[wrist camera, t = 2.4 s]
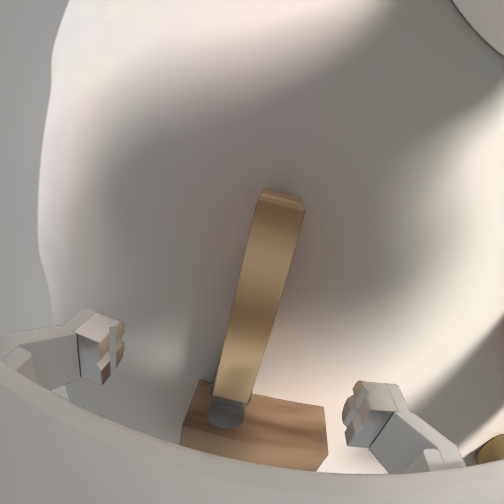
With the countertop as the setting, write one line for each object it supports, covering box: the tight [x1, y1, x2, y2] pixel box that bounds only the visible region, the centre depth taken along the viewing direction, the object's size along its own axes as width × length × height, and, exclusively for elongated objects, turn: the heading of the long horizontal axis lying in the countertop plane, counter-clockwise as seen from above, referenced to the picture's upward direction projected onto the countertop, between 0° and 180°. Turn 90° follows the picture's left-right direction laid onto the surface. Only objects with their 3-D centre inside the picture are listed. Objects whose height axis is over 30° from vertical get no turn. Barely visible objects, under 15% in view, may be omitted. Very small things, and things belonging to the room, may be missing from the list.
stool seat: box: [180, 358, 328, 472], centre depth 25 cm, size 15×12×6 cm
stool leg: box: [207, 189, 305, 429], centre depth 20 cm, size 16×3×6 cm, turn 167°
